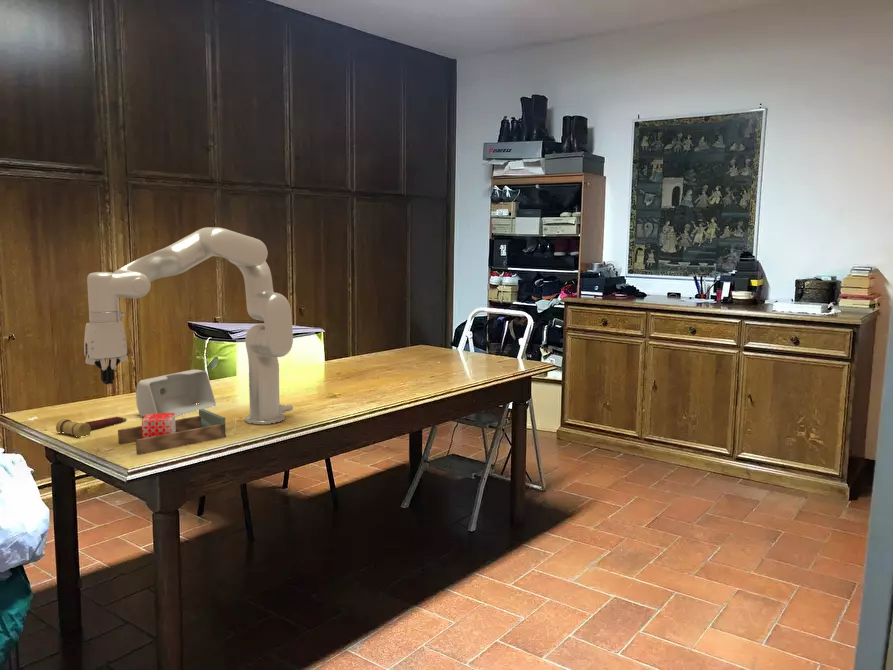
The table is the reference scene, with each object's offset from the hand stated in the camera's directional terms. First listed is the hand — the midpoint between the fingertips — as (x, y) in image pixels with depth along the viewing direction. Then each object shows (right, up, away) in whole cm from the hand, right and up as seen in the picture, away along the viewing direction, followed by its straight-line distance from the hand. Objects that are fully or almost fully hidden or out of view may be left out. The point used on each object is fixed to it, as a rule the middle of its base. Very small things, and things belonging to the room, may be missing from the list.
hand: (107, 383), depth 199 cm
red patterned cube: (+10, -18, +10) cm, 23 cm away
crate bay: (+13, -18, +13) cm, 26 cm away
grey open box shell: (-1, -13, +48) cm, 50 cm away
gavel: (-15, -16, +25) cm, 33 cm away
